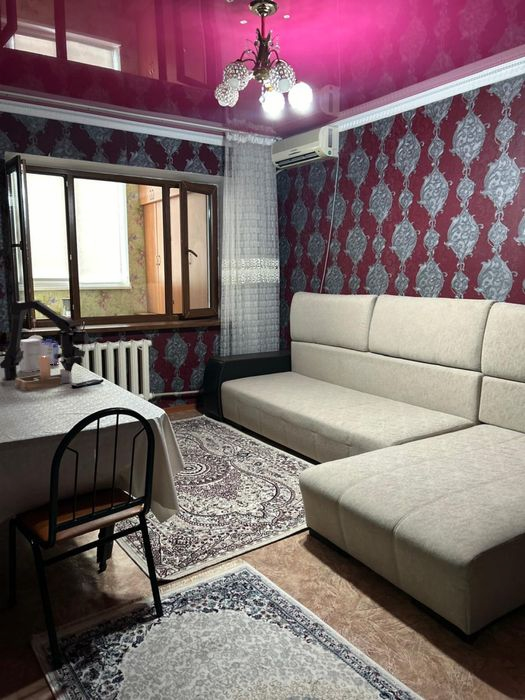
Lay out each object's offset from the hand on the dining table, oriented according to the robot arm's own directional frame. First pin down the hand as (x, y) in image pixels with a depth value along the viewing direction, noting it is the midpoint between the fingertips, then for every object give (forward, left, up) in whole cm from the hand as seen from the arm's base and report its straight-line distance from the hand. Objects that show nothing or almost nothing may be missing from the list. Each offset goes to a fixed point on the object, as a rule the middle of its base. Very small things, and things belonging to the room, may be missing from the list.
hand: (69, 374), depth 274 cm
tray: (+1, -10, -3) cm, 10 cm away
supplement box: (-38, -4, -3) cm, 38 cm away
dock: (+1, -16, -3) cm, 16 cm away
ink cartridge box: (-48, +10, -3) cm, 49 cm away
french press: (-64, +10, -3) cm, 65 cm away
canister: (+1, -12, -2) cm, 12 cm away
